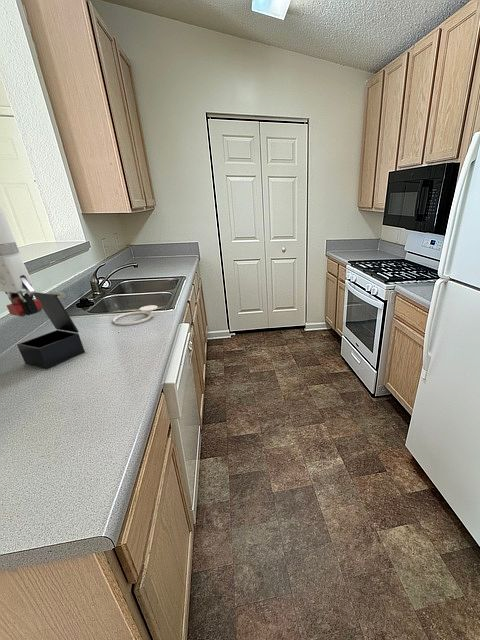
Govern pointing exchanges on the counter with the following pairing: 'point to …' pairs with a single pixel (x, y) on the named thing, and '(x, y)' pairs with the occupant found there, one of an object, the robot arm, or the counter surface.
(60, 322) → the box lid
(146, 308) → the hand towel holder
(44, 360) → the open lidded box
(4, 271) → the robot arm
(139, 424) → the counter surface
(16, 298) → the toy car
